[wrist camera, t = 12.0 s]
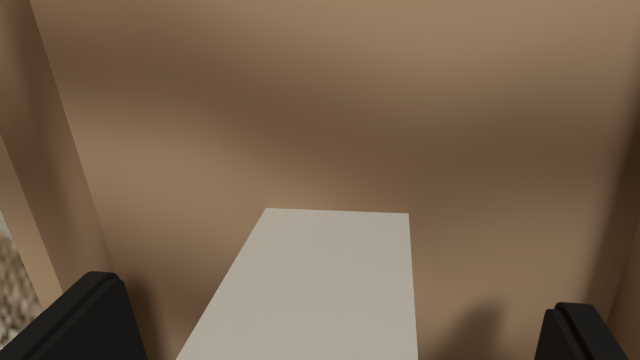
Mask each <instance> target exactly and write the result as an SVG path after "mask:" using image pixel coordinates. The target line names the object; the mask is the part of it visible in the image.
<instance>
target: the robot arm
mask: <svg viewBox="0 0 640 360" xmlns="http://www.w3.org/2000/svg"><path fill="white" fill-rule="evenodd" d="M0 360H148V359H147V356H146V352H145V349H144V346H143V342H142V339H141V336H140V333H139V329H138V326H137V323H136V319H135V316H134V313H133V310H132V306H131V303H130V300H129V296H128V293H127V290H126V286H125V284H124V281H122V280H121V279H120V278H119V276H118V275H117V274H116V273H113V272H99V271H90V272H87V273H86V274H84V275H83V276H82V277H81V278H80V279H79V280H78V281H76V282H75V283H74V284H73V285H72V286H71V287H70V288H69V289H68V290H67V291H66V292H64V293H63V294H62V295H61V296H60V297H59V298H58V299H57V300H56V301H55V302H53V303H52V304H51V305H50V306H49V307H48V308H47V309H46V310H45V311H44V312H42V313H41V314H40V315H39V316H38V317H37V318H36V319H35V320H34V321H33V322H31V323H30V324H29V325H28V326H27V327H26V328H25V329H24V330H23V331H22V332H20V333H19V334H18V335H17V336H16V337H15V338H14V339H13V340H12V341H11V342H9V343H8V344H7V345H6V346H5V347H4V348H3V349H2V350H1V351H0ZM534 360H629V359H628V357H627V356H626V354H625V353H624V351H623V350H622V348H621V347H620V345H619V344H618V342H617V341H616V339H615V338H614V336H613V334H612V333H611V331H610V330H609V328H608V327H607V325H606V324H605V322H604V321H603V319H602V318H601V316H600V315H599V313H598V311H597V310H596V309H595V308H594V306H593V305H591V304H584V303H569V302H557V304H556V305H555V307H554V309H547V310H546V311H545V314H544V319H543V323H542V327H541V332H540V336H539V340H538V344H537V349H536V353H535V357H534Z"/></svg>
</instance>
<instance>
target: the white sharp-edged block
mask: <svg viewBox="0 0 640 360" xmlns="http://www.w3.org/2000/svg"><path fill="white" fill-rule="evenodd" d="M176 360H418V350H417V335H416V319H415V304H414V289H413V273H412V258H411V242H410V227H409V213H382V212H356V211H330V210H304V209H277V208H265V210H264V212H263V213H262V215H261V217H260V219H259V220H258V222H257V224H256V225H255V227H254V229H253V230H252V232H251V234H250V235H249V237H248V239H247V240H246V242H245V244H244V245H243V247H242V249H241V251H240V252H239V254H238V256H237V257H236V259H235V261H234V262H233V264H232V266H231V267H230V269H229V271H228V272H227V274H226V276H225V278H224V279H223V281H222V283H221V284H220V286H219V288H218V289H217V291H216V293H215V294H214V296H213V298H212V299H211V301H210V303H209V304H208V306H207V308H206V310H205V311H204V313H203V315H202V316H201V318H200V320H199V321H198V323H197V325H196V326H195V328H194V330H193V331H192V333H191V335H190V337H189V338H188V340H187V342H186V343H185V345H184V347H183V348H182V350H181V352H180V353H179V355H178V357H177V358H176Z"/></svg>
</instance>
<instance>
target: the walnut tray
mask: <svg viewBox="0 0 640 360" xmlns="http://www.w3.org/2000/svg"><path fill="white" fill-rule="evenodd" d="M265 208H277V209H304V210H330V211H356V212H382V213H409V227H410V242H411V258H412V273H413V289H414V304H415V319H416V335H417V350H418V360H534V357H535V353H536V349H537V344H538V340H539V336H540V332H541V327H542V323H543V319H544V314H545V311H546V310H547V309H554V307H555V305H556V304H557V302H569V303H584V304H591V305H593V306H594V308H595V309H596V310H597V311H598V313H599V315H600V316H601V318H602V319H603V321H604V322H605V324H606V325H607V327H608V328H609V330H610V331H611V333H612V334H613V336H614V338H615V339H616V341H617V342H618V344H619V345H620V347H621V348H622V350H623V351H624V353H625V354H626V356H627V357H628V359H629V360H640V0H0V210H1V212H2V214H3V217H4V219H5V222H6V224H7V226H8V228H9V231H10V233H11V236H12V238H13V240H14V243H15V245H16V247H17V250H18V252H19V254H20V257H21V259H22V261H23V264H24V266H25V268H26V271H27V273H28V275H29V278H30V280H31V282H32V285H33V287H34V289H35V292H36V294H37V296H38V298H39V301H40V303H41V305H42V308H43V310H44V311H45V310H46V309H47V308H48V307H49V306H50V305H51V304H52V303H53V302H55V301H56V300H57V299H58V298H59V297H60V296H61V295H62V294H63V293H64V292H66V291H67V290H68V289H69V288H70V287H71V286H72V285H73V284H74V283H75V282H76V281H78V280H79V279H80V278H81V277H82V276H83V275H84V274H86V273H87V272H90V271H99V272H113V273H116V274H117V275H118V276H119V278H120V279H121V280H122V281H124V284H125V286H126V290H127V293H128V296H129V300H130V303H131V306H132V310H133V313H134V316H135V319H136V323H137V326H138V329H139V333H140V336H141V339H142V342H143V346H144V349H145V352H146V356H147V359H148V360H176V358H177V357H178V355H179V353H180V352H181V350H182V348H183V347H184V345H185V343H186V342H187V340H188V338H189V337H190V335H191V333H192V331H193V330H194V328H195V326H196V325H197V323H198V321H199V320H200V318H201V316H202V315H203V313H204V311H205V310H206V308H207V306H208V304H209V303H210V301H211V299H212V298H213V296H214V294H215V293H216V291H217V289H218V288H219V286H220V284H221V283H222V281H223V279H224V278H225V276H226V274H227V272H228V271H229V269H230V267H231V266H232V264H233V262H234V261H235V259H236V257H237V256H238V254H239V252H240V251H241V249H242V247H243V245H244V244H245V242H246V240H247V239H248V237H249V235H250V234H251V232H252V230H253V229H254V227H255V225H256V224H257V222H258V220H259V219H260V217H261V215H262V213H263V212H264V210H265Z"/></svg>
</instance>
